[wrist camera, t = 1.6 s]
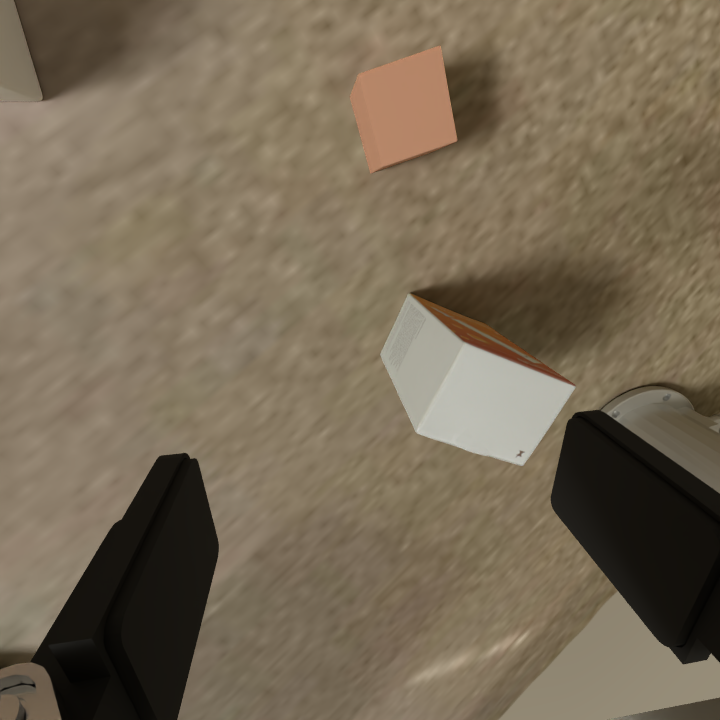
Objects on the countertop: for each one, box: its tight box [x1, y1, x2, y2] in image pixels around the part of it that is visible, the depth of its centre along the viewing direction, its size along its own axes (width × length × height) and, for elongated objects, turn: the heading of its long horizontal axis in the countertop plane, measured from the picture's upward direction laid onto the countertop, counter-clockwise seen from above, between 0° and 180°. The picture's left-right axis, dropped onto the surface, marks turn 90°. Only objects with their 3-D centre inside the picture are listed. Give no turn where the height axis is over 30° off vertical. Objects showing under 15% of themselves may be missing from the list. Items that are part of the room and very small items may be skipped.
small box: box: [380, 293, 576, 466], centre depth 28 cm, size 8×6×13 cm
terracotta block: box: [350, 45, 457, 173], centre depth 25 cm, size 5×5×5 cm
